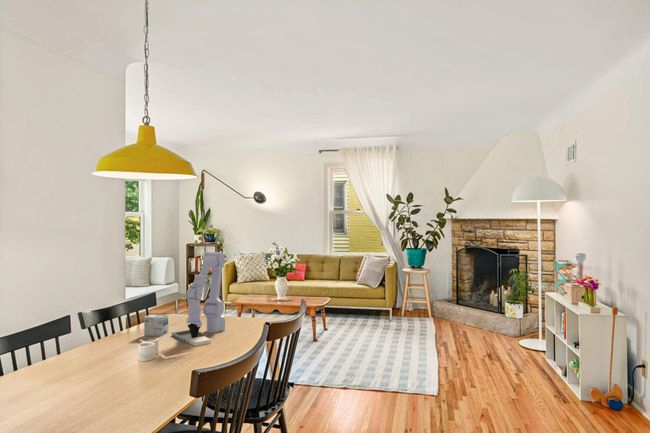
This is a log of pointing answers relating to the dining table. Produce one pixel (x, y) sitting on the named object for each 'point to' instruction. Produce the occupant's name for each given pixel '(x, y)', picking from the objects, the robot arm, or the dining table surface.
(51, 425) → the dining table surface
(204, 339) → the cover plate
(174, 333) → the open box
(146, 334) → the light bulb box
